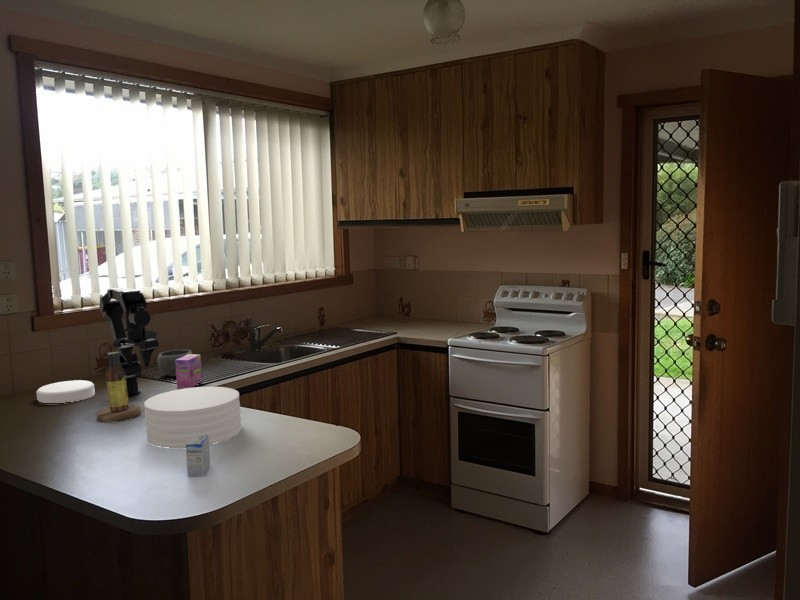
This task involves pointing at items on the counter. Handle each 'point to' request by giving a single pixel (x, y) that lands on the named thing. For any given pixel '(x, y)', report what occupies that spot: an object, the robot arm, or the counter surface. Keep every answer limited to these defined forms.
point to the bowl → (170, 361)
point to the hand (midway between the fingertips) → (138, 366)
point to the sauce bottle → (116, 384)
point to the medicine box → (197, 455)
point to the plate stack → (192, 415)
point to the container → (65, 391)
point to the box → (188, 371)
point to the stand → (119, 413)
